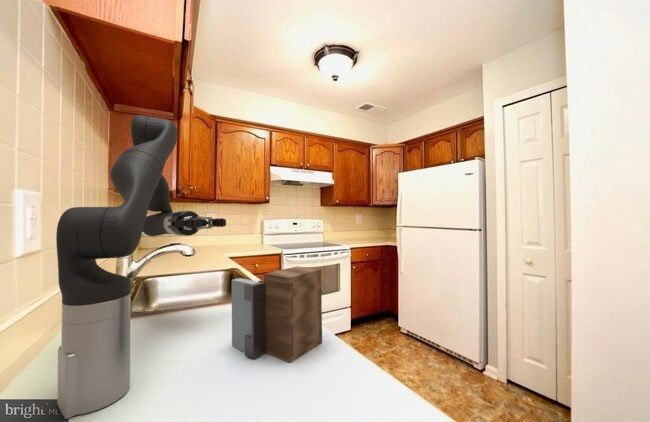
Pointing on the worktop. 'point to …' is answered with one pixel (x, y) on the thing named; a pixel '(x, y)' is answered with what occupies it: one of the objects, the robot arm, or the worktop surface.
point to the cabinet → (293, 312)
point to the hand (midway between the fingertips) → (210, 222)
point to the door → (241, 313)
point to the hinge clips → (256, 320)
